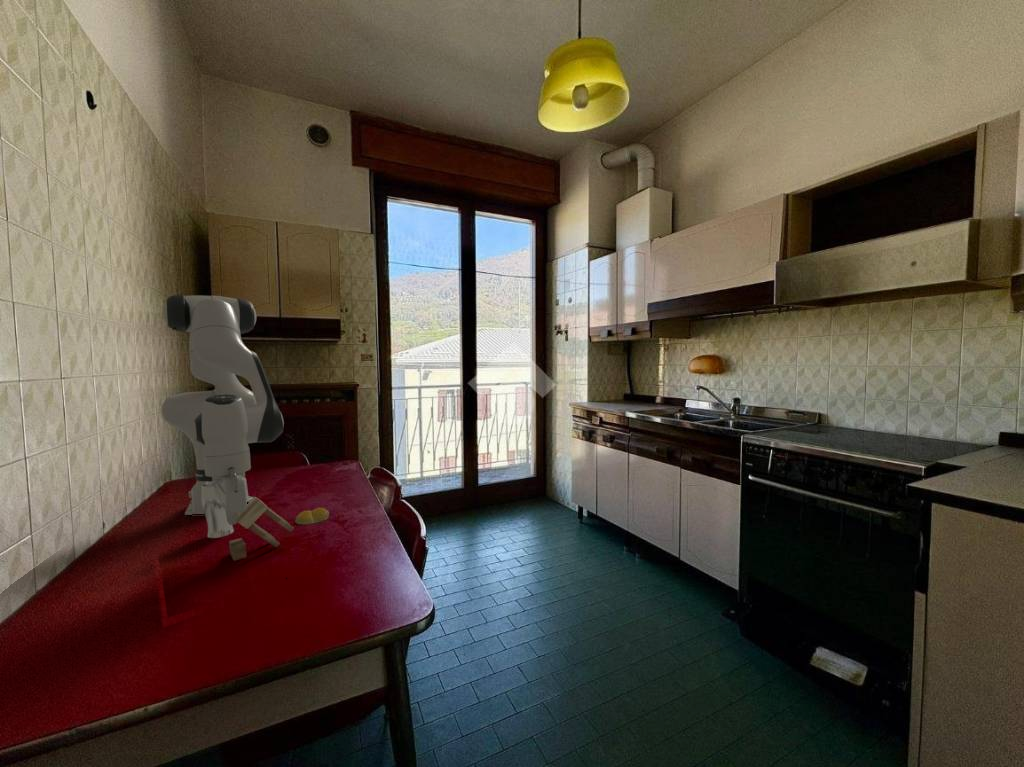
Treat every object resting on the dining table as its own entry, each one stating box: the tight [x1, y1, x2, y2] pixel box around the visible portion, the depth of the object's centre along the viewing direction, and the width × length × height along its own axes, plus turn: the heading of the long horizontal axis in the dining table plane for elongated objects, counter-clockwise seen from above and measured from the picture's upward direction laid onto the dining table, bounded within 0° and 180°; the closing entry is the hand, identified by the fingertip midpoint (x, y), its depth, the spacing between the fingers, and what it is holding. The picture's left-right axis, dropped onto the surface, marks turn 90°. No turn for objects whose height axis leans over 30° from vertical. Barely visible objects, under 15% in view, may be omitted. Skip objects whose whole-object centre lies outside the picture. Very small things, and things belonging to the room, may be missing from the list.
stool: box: [237, 496, 295, 548], centre depth 101 cm, size 6×6×11 cm
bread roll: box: [294, 507, 330, 525], centre depth 120 cm, size 8×9×4 cm
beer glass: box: [202, 481, 235, 539], centre depth 112 cm, size 7×7×15 cm
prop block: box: [228, 537, 247, 561], centre depth 98 cm, size 5×2×3 cm, turn 43°
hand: (232, 522), depth 97 cm, fingers closed, pressing on stool
